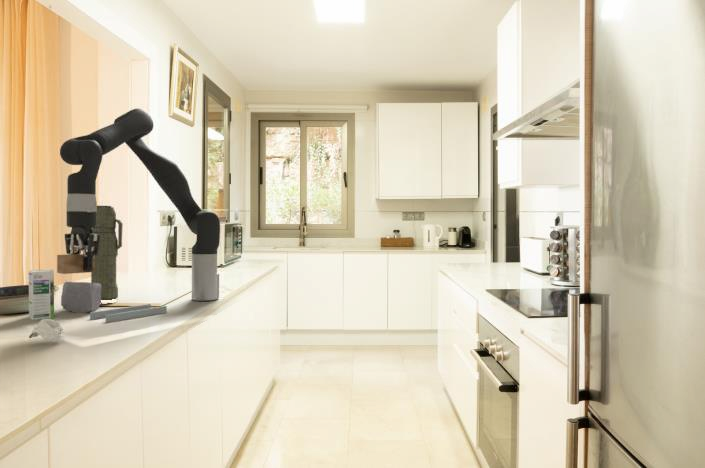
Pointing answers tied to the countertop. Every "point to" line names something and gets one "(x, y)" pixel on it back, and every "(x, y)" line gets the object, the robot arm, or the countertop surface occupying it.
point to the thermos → (107, 252)
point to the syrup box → (41, 294)
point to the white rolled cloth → (48, 329)
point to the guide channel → (128, 312)
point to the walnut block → (72, 264)
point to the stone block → (81, 296)
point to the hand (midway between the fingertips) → (81, 269)
